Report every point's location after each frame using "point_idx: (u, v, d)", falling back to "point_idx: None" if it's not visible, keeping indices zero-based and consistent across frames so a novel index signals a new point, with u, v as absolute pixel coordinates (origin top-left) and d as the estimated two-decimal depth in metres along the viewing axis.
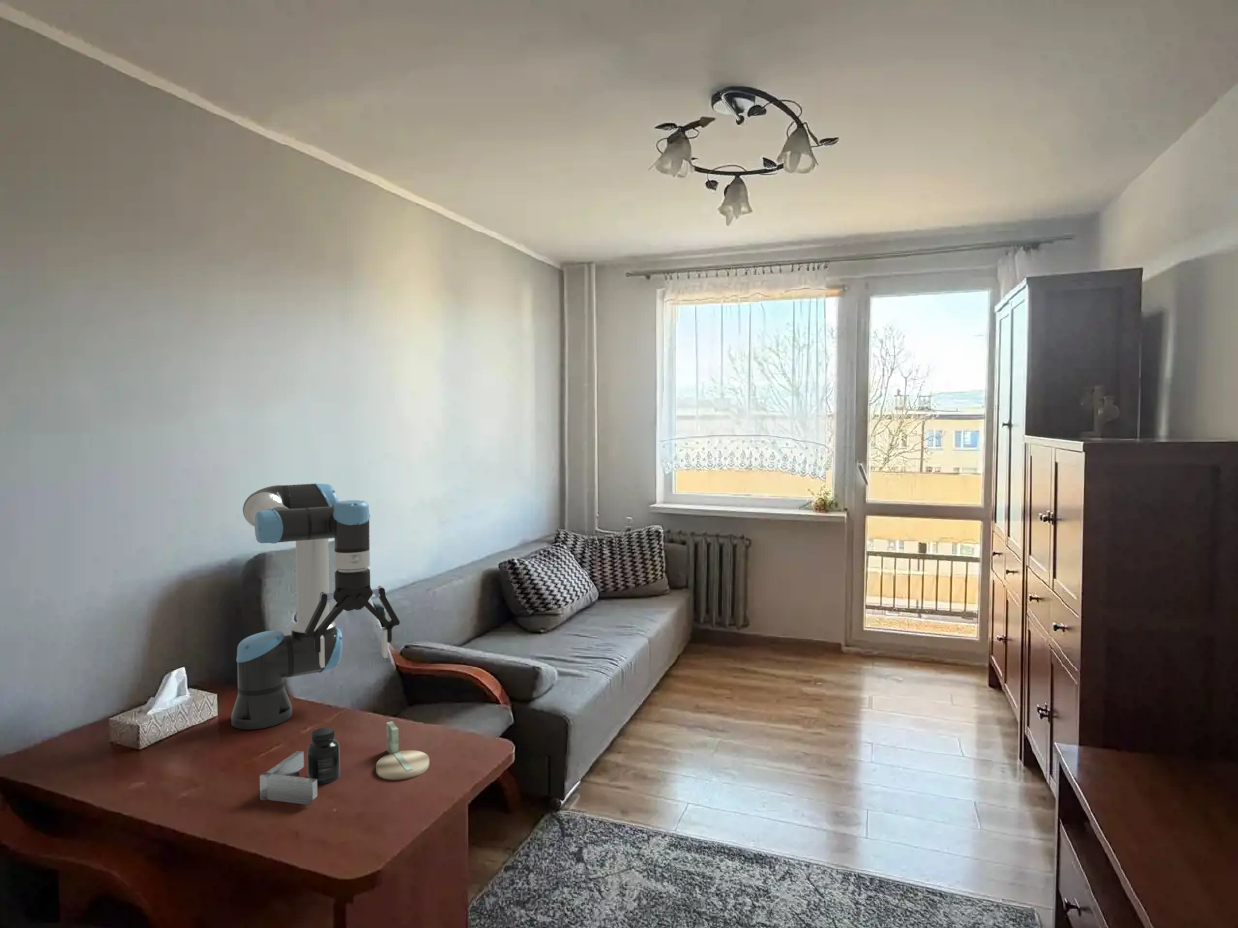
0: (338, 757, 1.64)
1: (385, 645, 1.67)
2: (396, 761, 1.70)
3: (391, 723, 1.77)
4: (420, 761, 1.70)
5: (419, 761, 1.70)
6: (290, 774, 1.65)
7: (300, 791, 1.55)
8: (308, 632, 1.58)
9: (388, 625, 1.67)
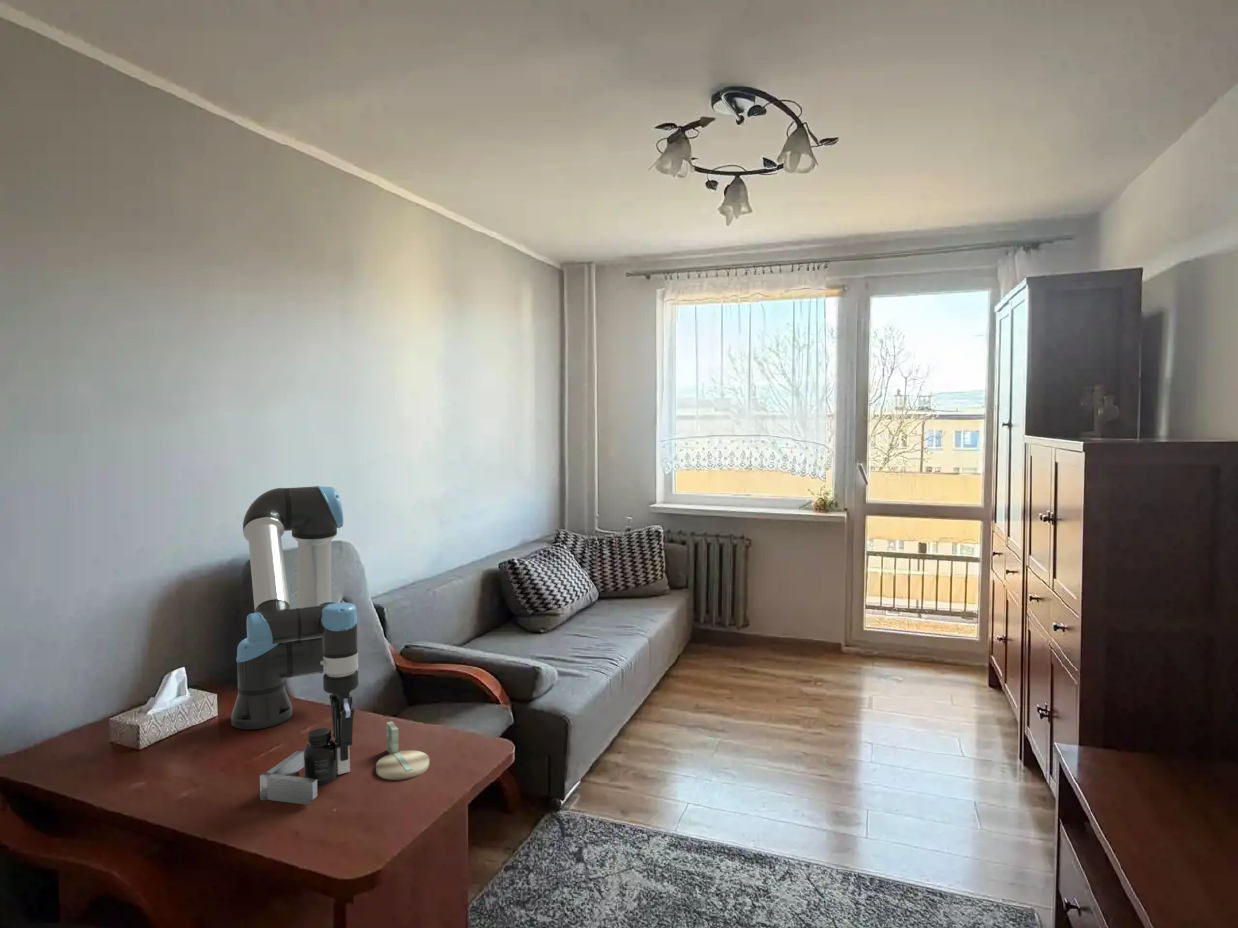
0: (335, 758, 1.64)
1: (337, 761, 1.66)
2: (396, 761, 1.70)
3: (391, 723, 1.77)
4: (420, 761, 1.70)
5: (419, 761, 1.70)
6: (290, 774, 1.65)
7: (300, 791, 1.55)
8: (333, 733, 1.68)
9: (338, 743, 1.65)
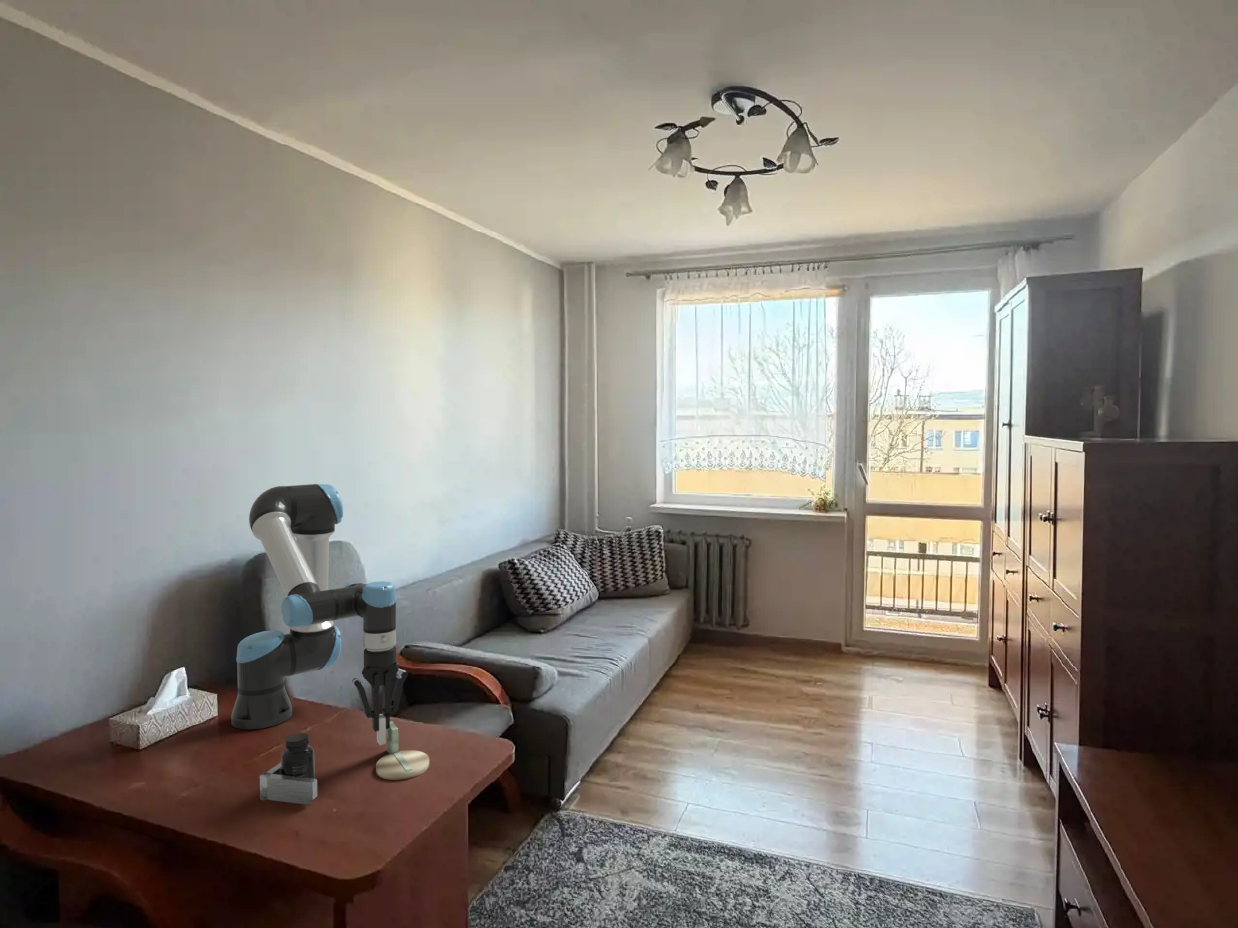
0: (313, 763, 1.61)
1: (384, 732, 1.74)
2: (396, 761, 1.70)
3: (391, 723, 1.77)
4: (420, 761, 1.70)
5: (419, 761, 1.70)
6: None
7: (300, 791, 1.55)
8: (367, 714, 1.72)
9: (387, 712, 1.74)
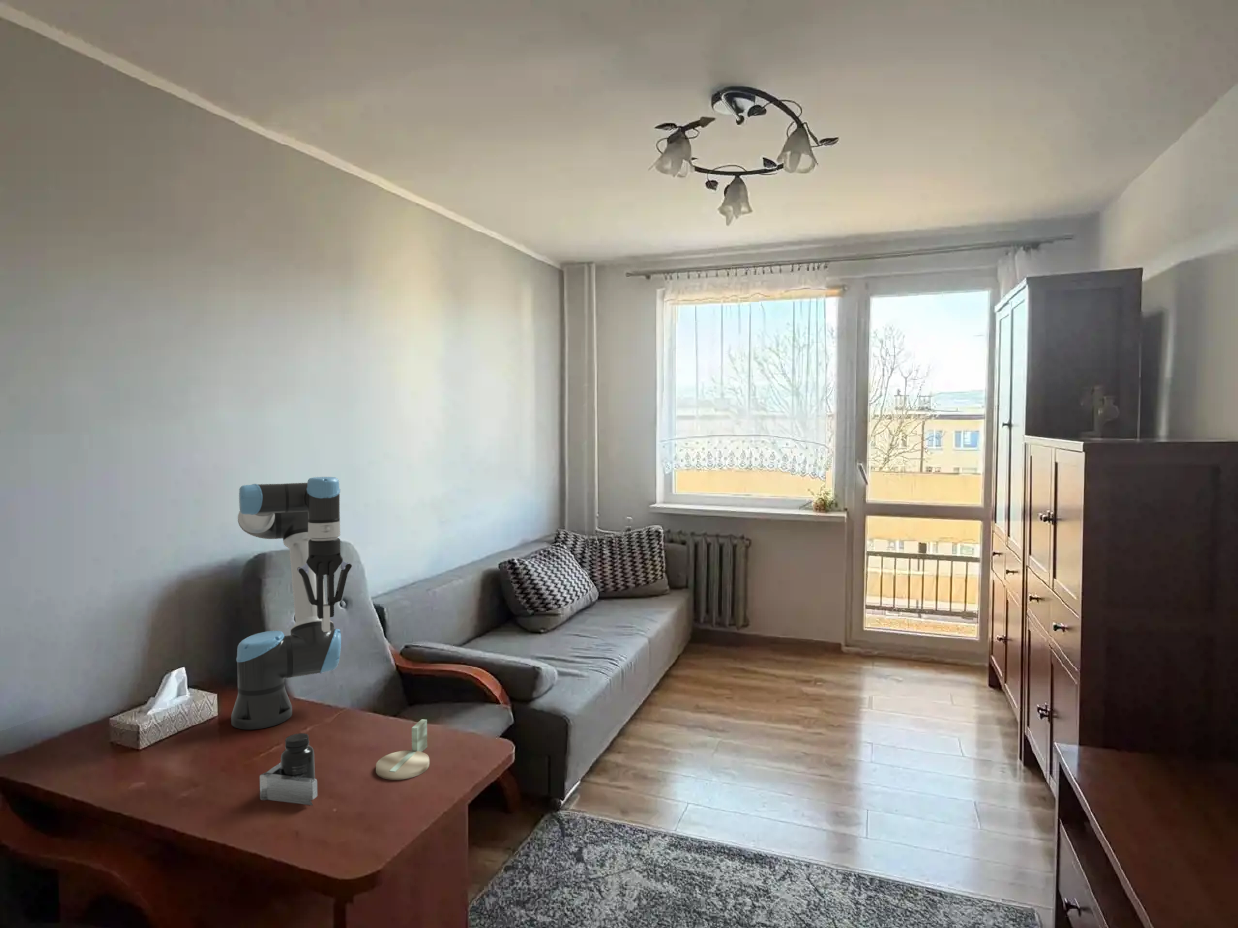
0: (313, 763, 1.61)
1: (328, 620, 1.82)
2: (400, 759, 1.71)
3: (422, 721, 1.79)
4: (412, 767, 1.67)
5: (412, 766, 1.67)
6: None
7: (300, 791, 1.55)
8: (311, 601, 1.80)
9: (331, 601, 1.82)
